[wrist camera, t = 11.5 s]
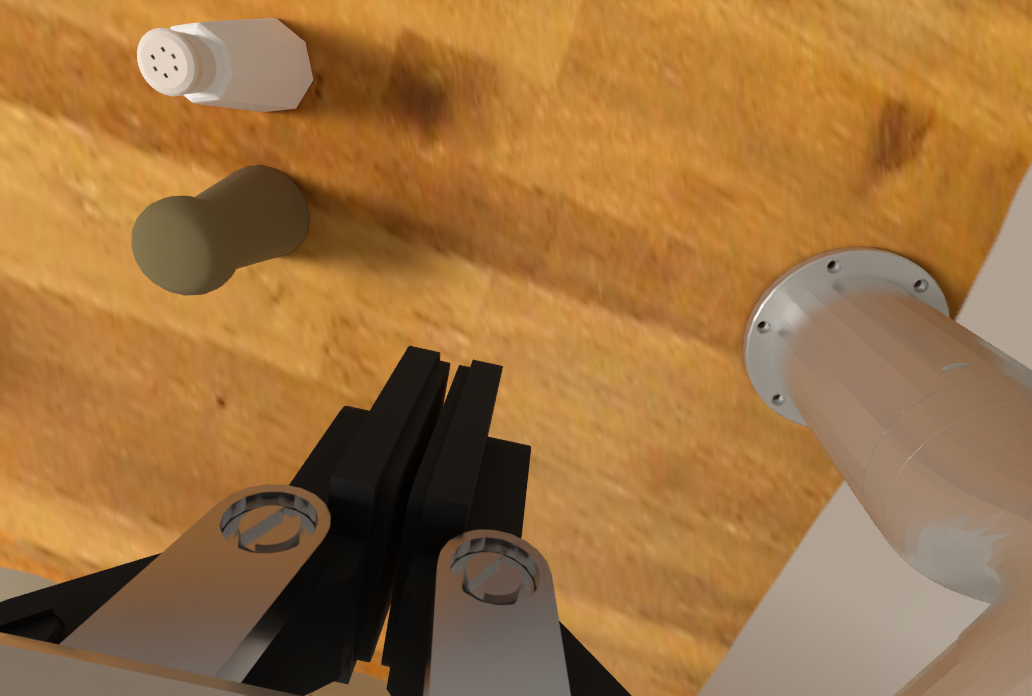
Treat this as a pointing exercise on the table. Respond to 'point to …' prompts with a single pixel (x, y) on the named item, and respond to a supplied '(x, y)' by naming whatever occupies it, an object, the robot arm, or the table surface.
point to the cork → (219, 230)
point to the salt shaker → (228, 63)
